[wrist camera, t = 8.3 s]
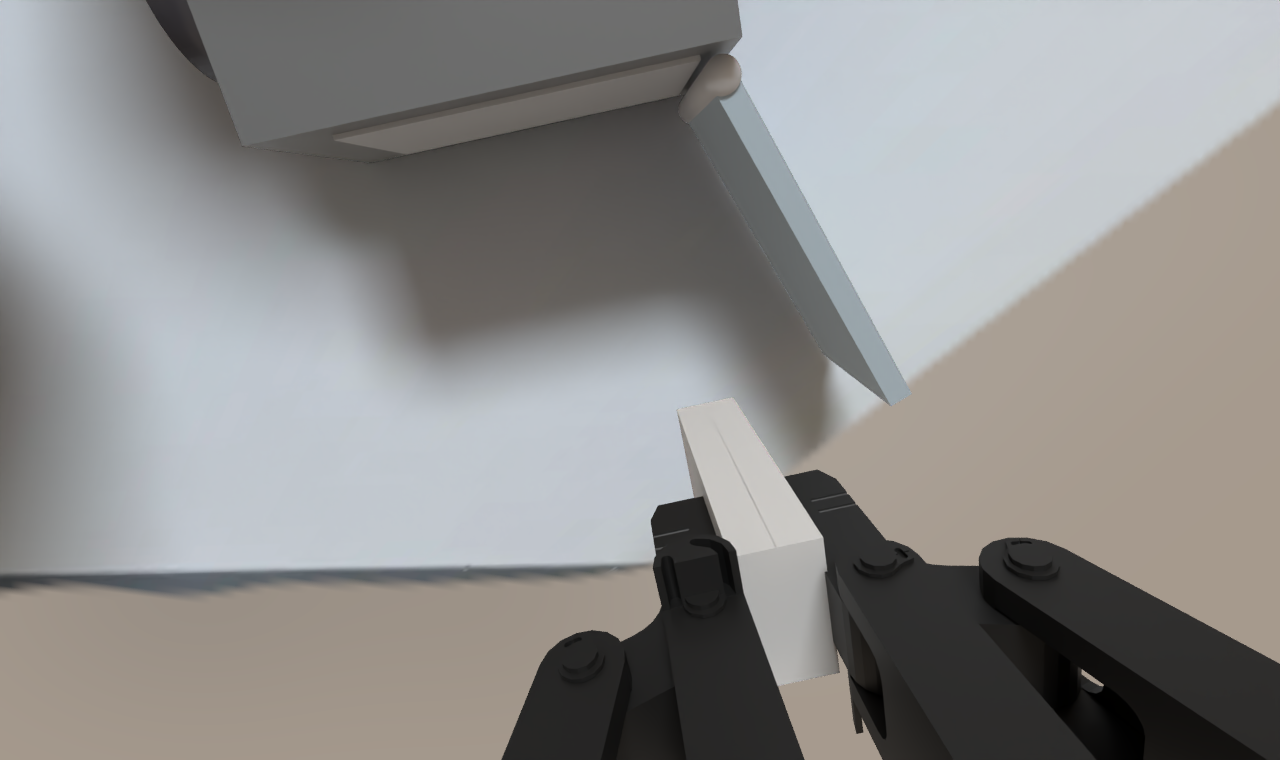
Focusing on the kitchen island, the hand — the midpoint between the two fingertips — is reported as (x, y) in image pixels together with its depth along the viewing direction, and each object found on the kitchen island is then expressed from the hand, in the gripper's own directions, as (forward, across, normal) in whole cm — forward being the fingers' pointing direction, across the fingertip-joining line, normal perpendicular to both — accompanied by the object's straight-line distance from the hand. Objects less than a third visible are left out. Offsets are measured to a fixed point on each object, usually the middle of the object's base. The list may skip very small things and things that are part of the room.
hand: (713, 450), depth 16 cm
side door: (+12, +5, +4) cm, 13 cm away
